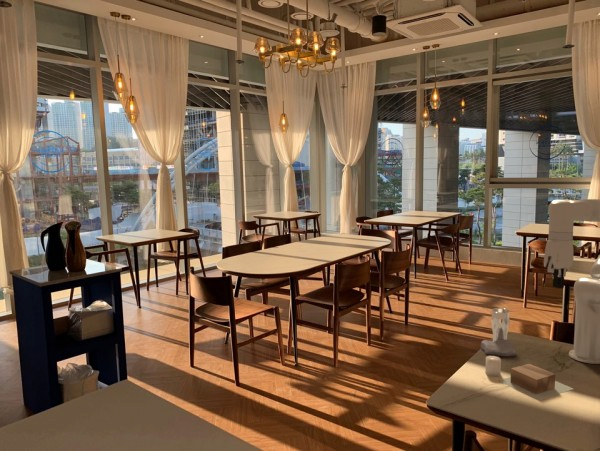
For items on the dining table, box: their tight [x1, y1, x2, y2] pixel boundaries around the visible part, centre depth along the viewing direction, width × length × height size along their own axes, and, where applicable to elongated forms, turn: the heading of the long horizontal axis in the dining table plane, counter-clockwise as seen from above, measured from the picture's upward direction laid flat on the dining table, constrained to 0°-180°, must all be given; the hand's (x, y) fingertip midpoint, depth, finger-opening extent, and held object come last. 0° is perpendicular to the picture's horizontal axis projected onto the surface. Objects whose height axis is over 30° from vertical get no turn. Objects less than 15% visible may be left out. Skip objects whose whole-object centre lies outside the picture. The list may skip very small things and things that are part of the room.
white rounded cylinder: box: [484, 355, 502, 377], centre depth 169 cm, size 5×5×6 cm
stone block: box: [480, 339, 516, 357], centre depth 190 cm, size 12×5×10 cm
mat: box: [497, 376, 574, 401], centre depth 160 cm, size 17×16×1 cm
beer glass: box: [490, 307, 510, 341], centre depth 197 cm, size 7×7×15 cm
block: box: [510, 363, 556, 394], centre depth 159 cm, size 5×10×9 cm
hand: (558, 287), depth 168 cm, fingers closed
